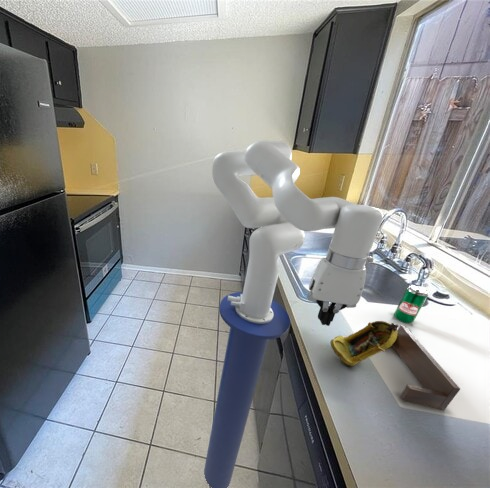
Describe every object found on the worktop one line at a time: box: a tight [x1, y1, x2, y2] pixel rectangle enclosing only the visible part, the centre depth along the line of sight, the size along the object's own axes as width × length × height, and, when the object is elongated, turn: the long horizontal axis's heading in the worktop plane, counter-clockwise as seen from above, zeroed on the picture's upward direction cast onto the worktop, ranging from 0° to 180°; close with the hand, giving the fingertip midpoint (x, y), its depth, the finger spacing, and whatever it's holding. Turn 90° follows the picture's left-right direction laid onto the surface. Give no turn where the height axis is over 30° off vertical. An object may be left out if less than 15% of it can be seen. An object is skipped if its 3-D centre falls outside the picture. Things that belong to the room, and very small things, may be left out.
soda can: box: [393, 284, 429, 324], centre depth 83 cm, size 5×5×12 cm
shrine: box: [329, 320, 399, 368], centre depth 66 cm, size 12×8×15 cm
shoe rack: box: [390, 324, 461, 411], centre depth 66 cm, size 8×20×7 cm, turn 166°
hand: (323, 321), depth 67 cm, fingers closed
